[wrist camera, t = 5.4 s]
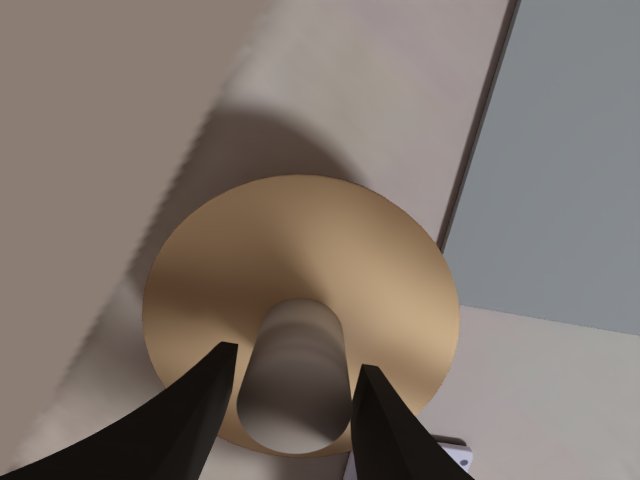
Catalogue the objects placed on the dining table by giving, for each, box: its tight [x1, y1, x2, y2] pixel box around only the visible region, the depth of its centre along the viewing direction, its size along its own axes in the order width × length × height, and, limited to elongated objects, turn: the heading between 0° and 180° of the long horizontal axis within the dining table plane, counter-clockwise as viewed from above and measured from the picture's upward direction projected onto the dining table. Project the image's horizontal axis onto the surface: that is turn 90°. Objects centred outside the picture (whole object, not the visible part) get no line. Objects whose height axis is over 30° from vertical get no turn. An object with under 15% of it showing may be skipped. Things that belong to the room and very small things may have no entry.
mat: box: [440, 0, 640, 336], centre depth 16 cm, size 16×16×1 cm
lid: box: [142, 174, 460, 458], centre depth 12 cm, size 14×14×5 cm
